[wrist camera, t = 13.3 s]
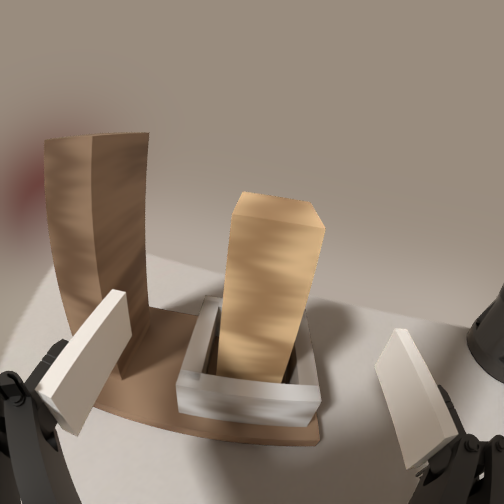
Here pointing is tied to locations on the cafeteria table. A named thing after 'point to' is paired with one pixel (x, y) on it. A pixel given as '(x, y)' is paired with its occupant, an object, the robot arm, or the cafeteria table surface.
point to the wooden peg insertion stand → (158, 320)
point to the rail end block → (266, 284)
